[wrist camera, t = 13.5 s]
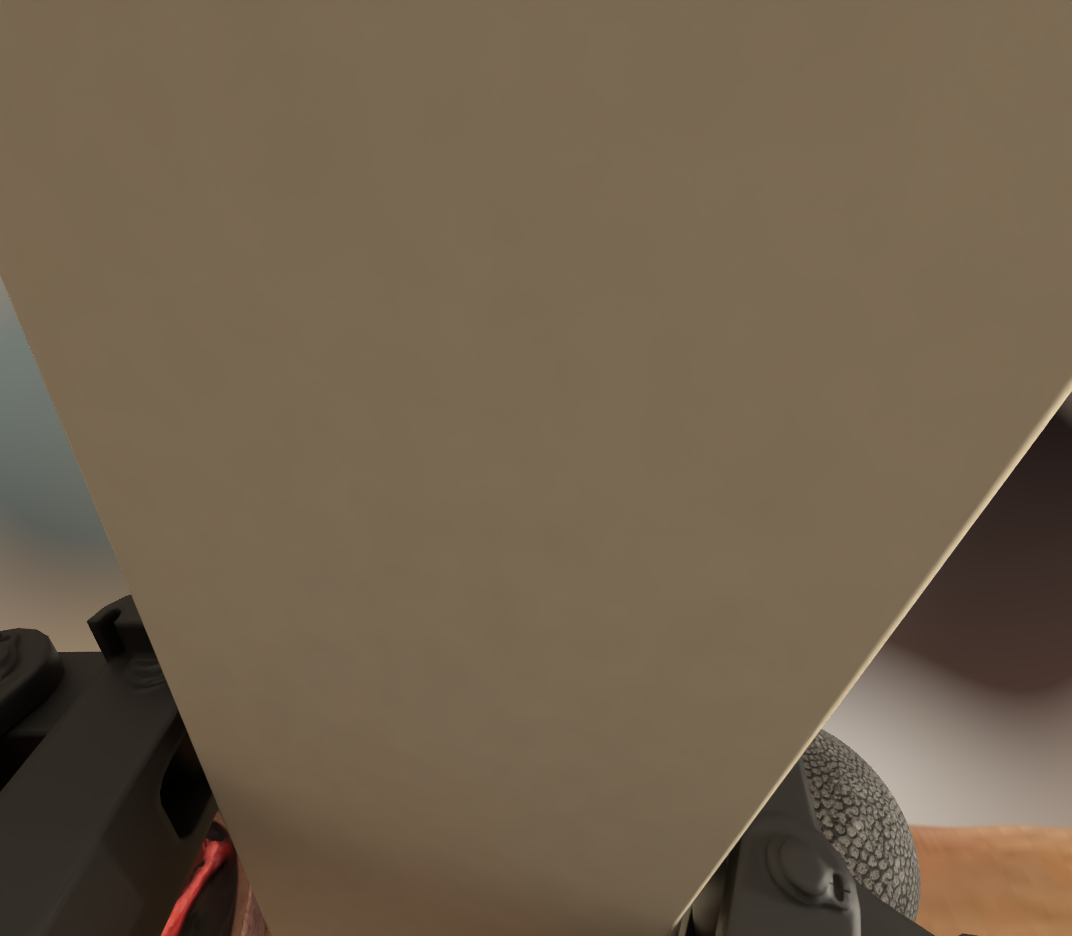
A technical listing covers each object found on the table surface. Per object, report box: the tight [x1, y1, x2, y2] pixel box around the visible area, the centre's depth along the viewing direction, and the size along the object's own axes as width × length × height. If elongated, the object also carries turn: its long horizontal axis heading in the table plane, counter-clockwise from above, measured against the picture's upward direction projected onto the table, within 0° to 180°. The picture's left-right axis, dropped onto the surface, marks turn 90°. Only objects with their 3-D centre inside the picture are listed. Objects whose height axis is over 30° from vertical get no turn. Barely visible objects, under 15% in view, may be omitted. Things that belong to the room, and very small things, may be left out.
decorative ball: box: [802, 729, 920, 922], centre depth 24 cm, size 10×10×10 cm
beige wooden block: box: [0, 0, 1072, 936], centre depth 9 cm, size 6×6×20 cm
